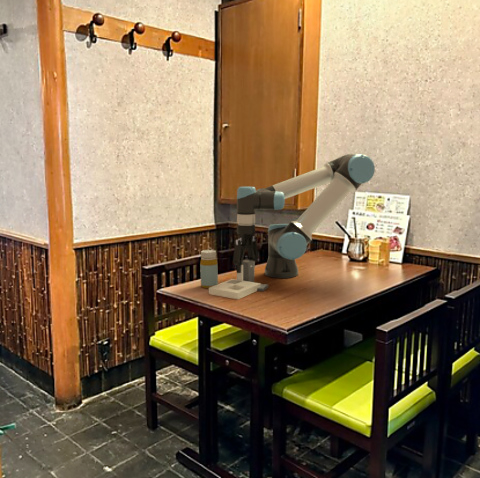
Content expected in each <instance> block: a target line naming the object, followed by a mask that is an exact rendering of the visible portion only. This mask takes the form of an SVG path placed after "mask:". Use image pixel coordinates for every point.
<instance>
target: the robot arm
mask: <svg viewBox="0 0 480 478" xmlns="http://www.w3.org/2000/svg"><path fill="white" fill-rule="evenodd" d="M375 172H376V171H375V163H374V161H373V159H372V158H370V156H369V155H365V154H363V153H356V154H353V153H349V154H344V155H342V156H339V157H337V158H335V159H333V160H331V161H328V162H326V163H325V164H324V166H322V167H321V166H320V167H319V168H316V169H313V170H311V171H308V172H306V173H302V174H299V175H298V176H294V177H291V178H289V179H287V180H284V181H281V182H278V183H276V184H273V185H269V186H267V187H265V188H263V187H262V188H259V189H256V187H255V186H238V188H237V193H236V223H237V225H236V234H237V235H238V239H233V240H234V250H233V259H232V263H233V264H234V265H236V266H235V267H236V280H240V281H243V265H242V262H243V260H244V258H245V252H246V251H247V256H248V260H253V261H254V274H256V273H255V267H256V265H255V264H256V262H257V261H258V259H259V255H258V254H259V253H258V243H257V241H258V237H257V236H254V234H255V233H256V225H255V224H256V211H257V210H260V211H261V210H268V211H269V210H274V211H277V210H282V209H284V207H285V203H286V202H285V201H286V199H288V198H292V197H294V196H296V195H300V194H302V193H305V192H308V191H310V190H313V189H315V188H318V187H322V186H324V185H327V184H328V185H327V186H326V187H325V188H324V189H323V190H322V192H321V193H320V194H318V196H317V197H316V198H315V199H314V201H312V203H310V205H309V206H308V207H307V209H305V211H303V213H302V214H300V216H299V217H298V218H297V219H296V220H292V221H290V222H289V223H278V224H277V223H275V224H274V223H273V224H269V225H268V230H267V234H268V235H267V236H268V237H267V238H268V239H267V241H268V258H267V262H266V264H265V267H264V276H266V277H269V278H275V279H289V278H294V277H296V276H299V268H298V265H297V262H296V260H298V259H300V258H301V257H302V256H303V255H304V254H305V253H306V251H307V246H308V245H309V243H310V242H311V241H313V239H312V236H313V233H314V232H315V231H316V230H317V229H318V228H319V227H320V226H321V224H322V223H324V221H325V220H326V219H327V218H328V217H329V215H331V213H333V211H334V210H335V209H336V208H337V207H338V205H340V204H341V202H342V201H343V200H344V199H345V197H346V196H348V194H349V193H351V192H356V191H357V190H358V189H359V188H360V187H361V185H362V184H365V183H368V182H370V181H371V180H372V179H373V177H374V175H375Z"/></svg>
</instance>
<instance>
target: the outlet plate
mask: <svg viewBox="0 0 480 478" xmlns="http://www.w3.org/2000/svg"><path fill="white" fill-rule="evenodd" d="M261 284H262V283H260V282H255V281H254V282H248V281H240V280H237V278H235V279H234V278H231V279H229V280H225V281H223V282H221V283H218V285H215V286H212V287H210V288H209V289H208V295H212V296H218V297H223V298H229V299H234V300H240V299H242V298H244V297H246V296H247V297H248V296H249V295H251V294H253V293H255V292H258V291H257V288H259V287H261Z"/></svg>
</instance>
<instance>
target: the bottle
mask: <svg viewBox="0 0 480 478" xmlns="http://www.w3.org/2000/svg"><path fill="white" fill-rule="evenodd" d="M200 258H201V259H200V264H199V265H200V266H199V267H200V286H201V288H203V289H208V290H209V288H210V287H212V286H215V285H218V284H219V280H218V279H219V278H218V277H219V276H218V272H219V271H218V261H217V250H214V249H204V250H201V251H200Z"/></svg>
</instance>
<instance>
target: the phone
mask: <svg viewBox="0 0 480 478" xmlns="http://www.w3.org/2000/svg"><path fill="white" fill-rule="evenodd" d="M268 288H269V284H267V283H266V284H265V283H264V284H263V283H261V287H259V288H257V291H256V292H265V291H266V290H267V289H268Z"/></svg>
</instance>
